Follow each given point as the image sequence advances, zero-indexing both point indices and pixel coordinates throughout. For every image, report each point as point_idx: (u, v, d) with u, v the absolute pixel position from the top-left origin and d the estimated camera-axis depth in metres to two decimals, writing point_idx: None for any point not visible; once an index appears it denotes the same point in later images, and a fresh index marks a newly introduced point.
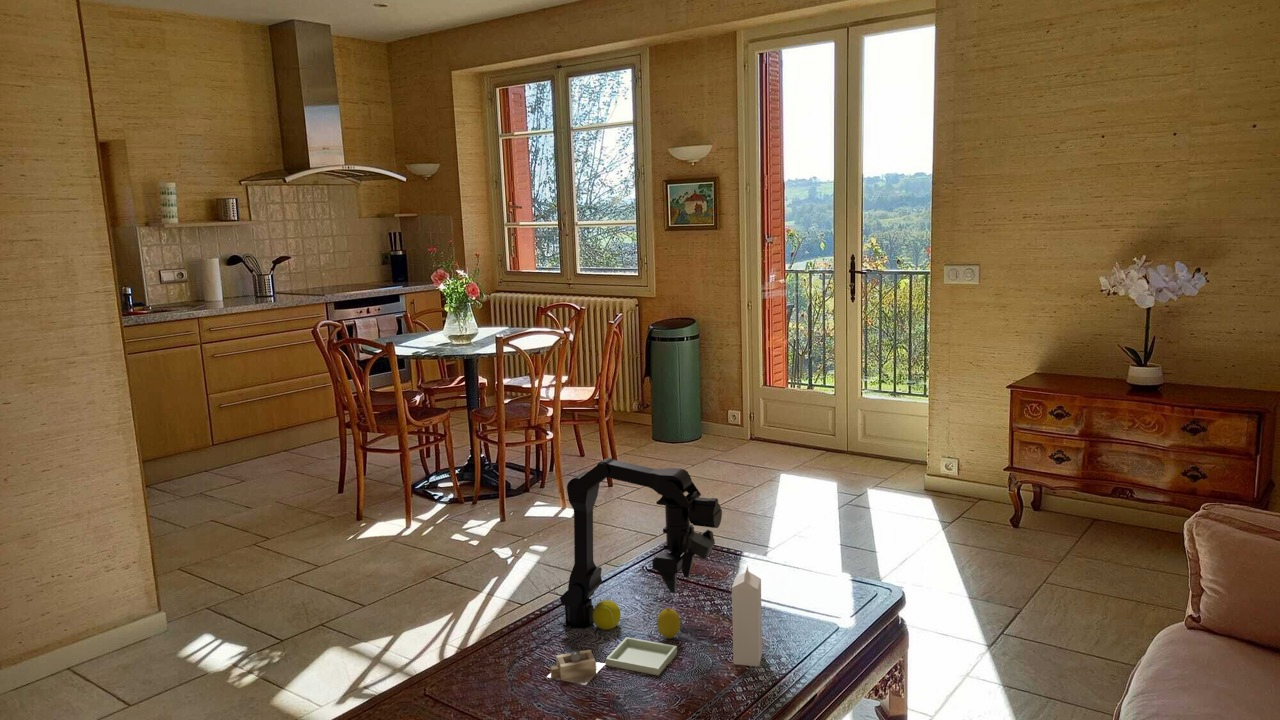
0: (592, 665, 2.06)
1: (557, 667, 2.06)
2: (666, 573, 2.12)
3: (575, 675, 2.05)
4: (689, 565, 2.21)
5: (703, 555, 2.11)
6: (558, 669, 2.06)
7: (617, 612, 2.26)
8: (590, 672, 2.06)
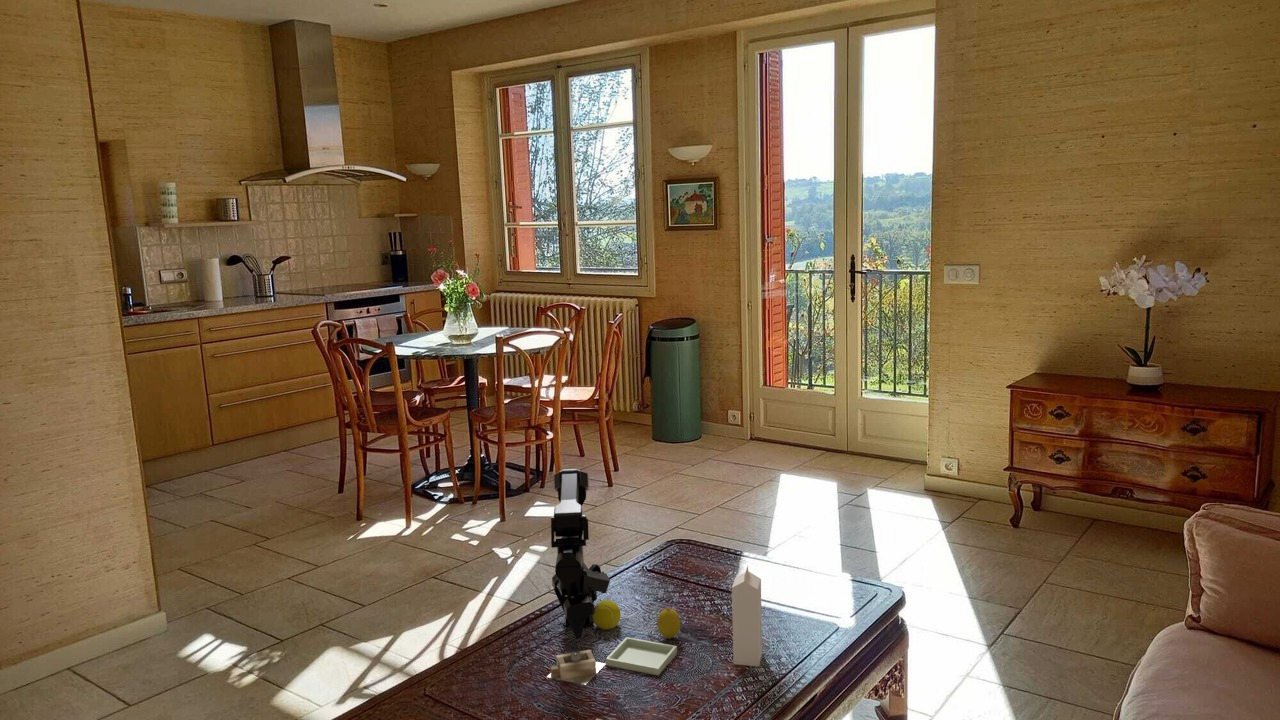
0: (592, 665, 2.06)
1: (557, 667, 2.06)
2: (574, 619, 2.00)
3: (575, 675, 2.05)
4: None
5: (605, 589, 2.04)
6: (558, 669, 2.06)
7: (617, 612, 2.26)
8: (590, 672, 2.06)
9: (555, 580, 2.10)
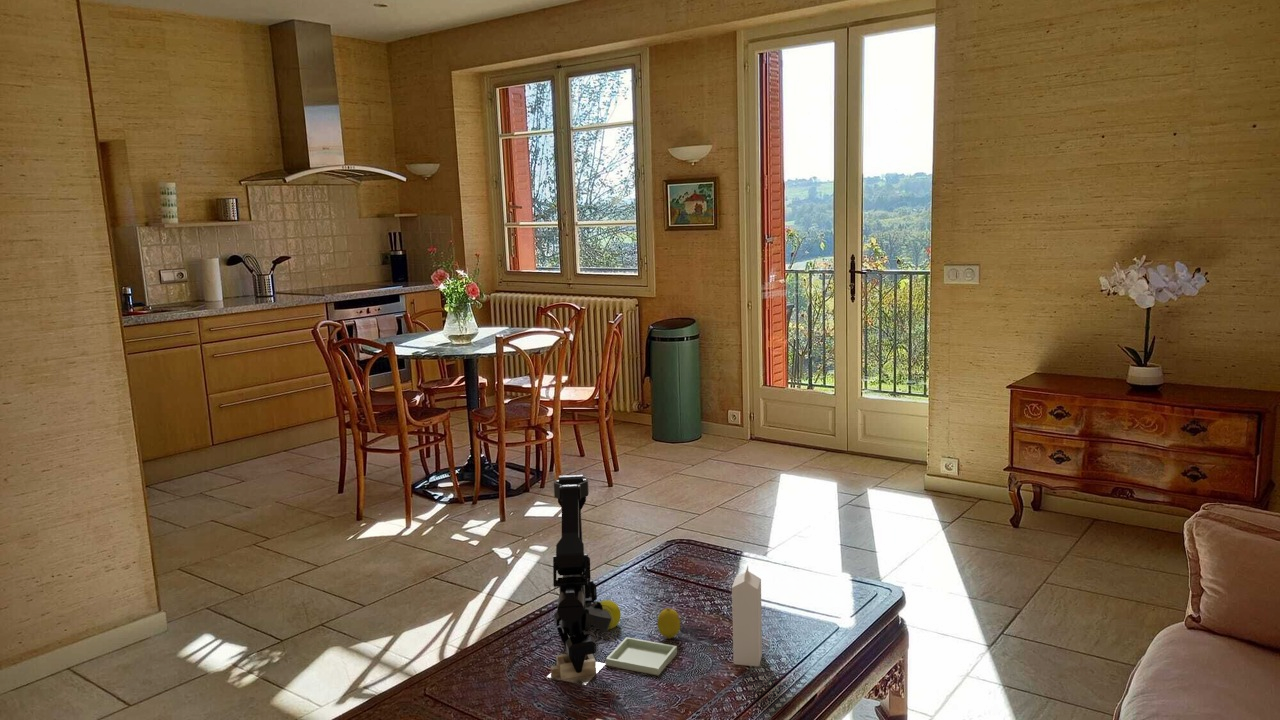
0: (592, 665, 2.06)
1: (557, 667, 2.06)
2: None
3: (575, 675, 2.05)
4: None
5: (606, 627, 2.06)
6: (558, 669, 2.06)
7: (617, 612, 2.26)
8: (590, 672, 2.06)
9: (557, 617, 2.11)
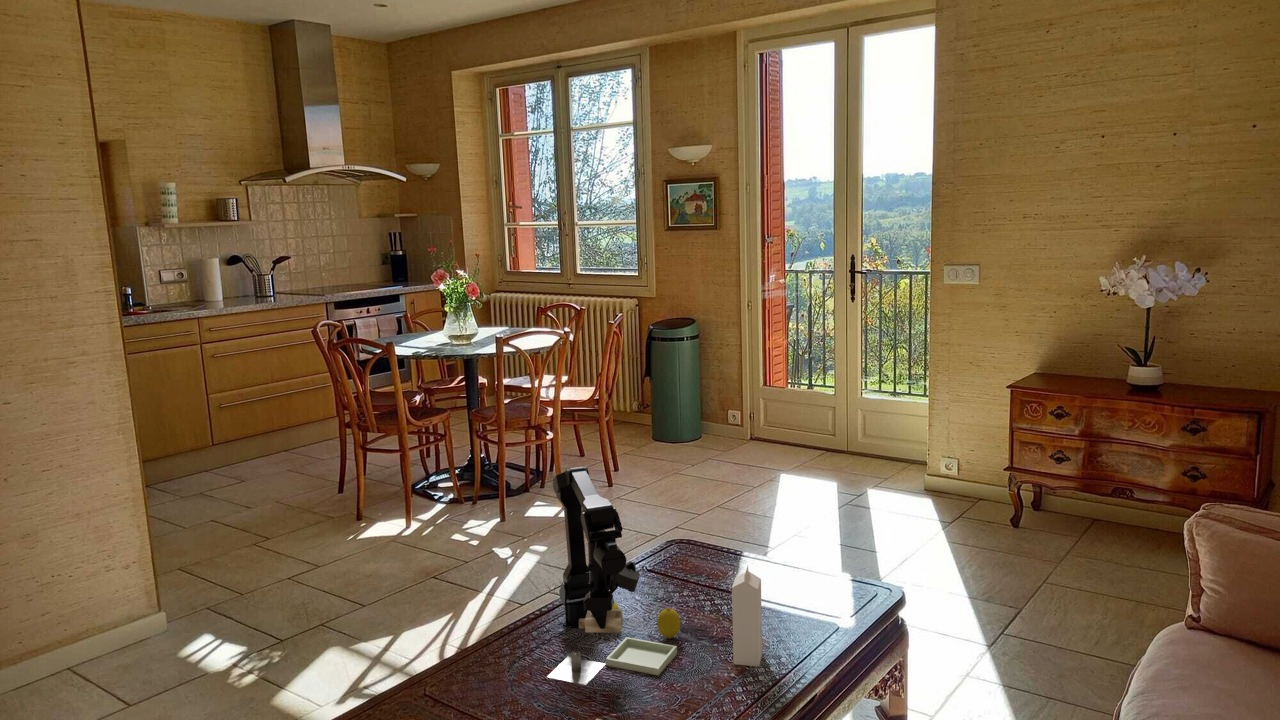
0: (616, 623, 2.05)
1: (585, 620, 2.08)
2: None
3: (599, 631, 2.05)
4: None
5: (632, 588, 2.03)
6: (585, 622, 2.07)
7: None
8: (614, 630, 2.05)
9: None
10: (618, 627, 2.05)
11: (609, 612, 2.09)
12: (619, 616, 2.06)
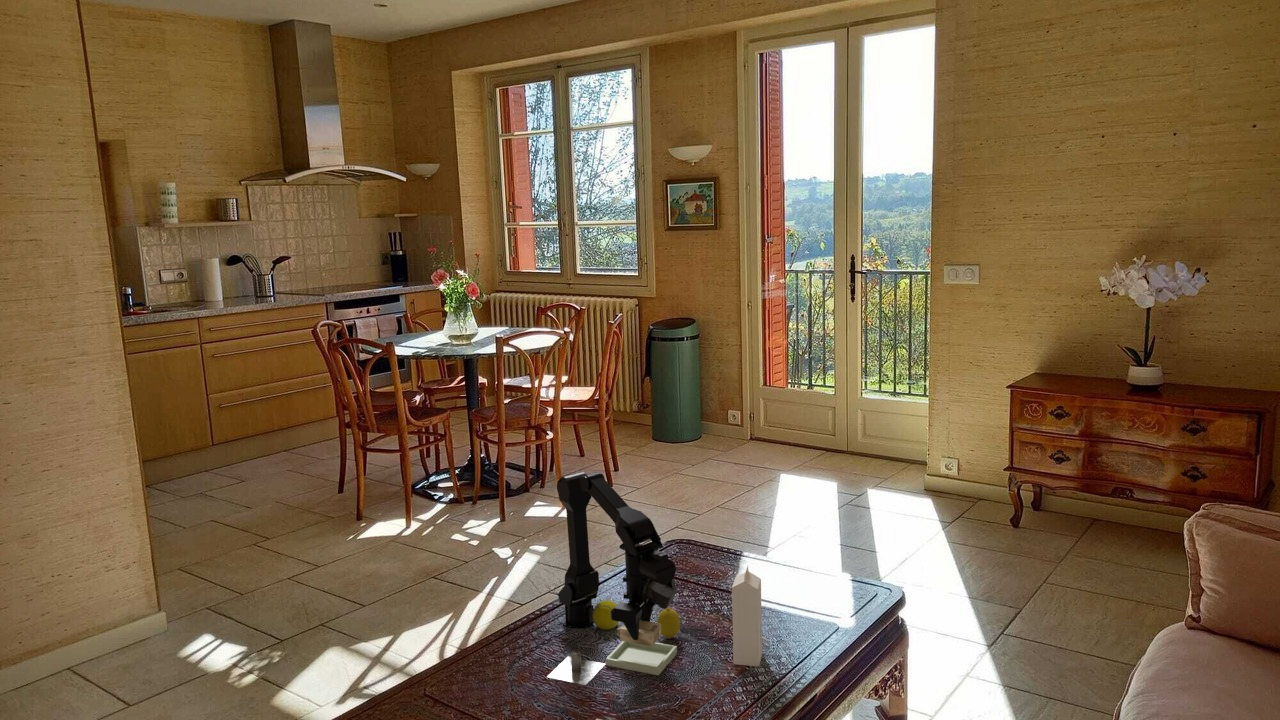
0: (648, 637, 2.07)
1: None
2: None
3: (632, 641, 2.09)
4: (648, 616, 2.13)
5: (663, 605, 2.04)
6: None
7: None
8: (646, 643, 2.07)
9: None
10: (650, 641, 2.07)
11: (647, 624, 2.12)
12: (653, 630, 2.08)
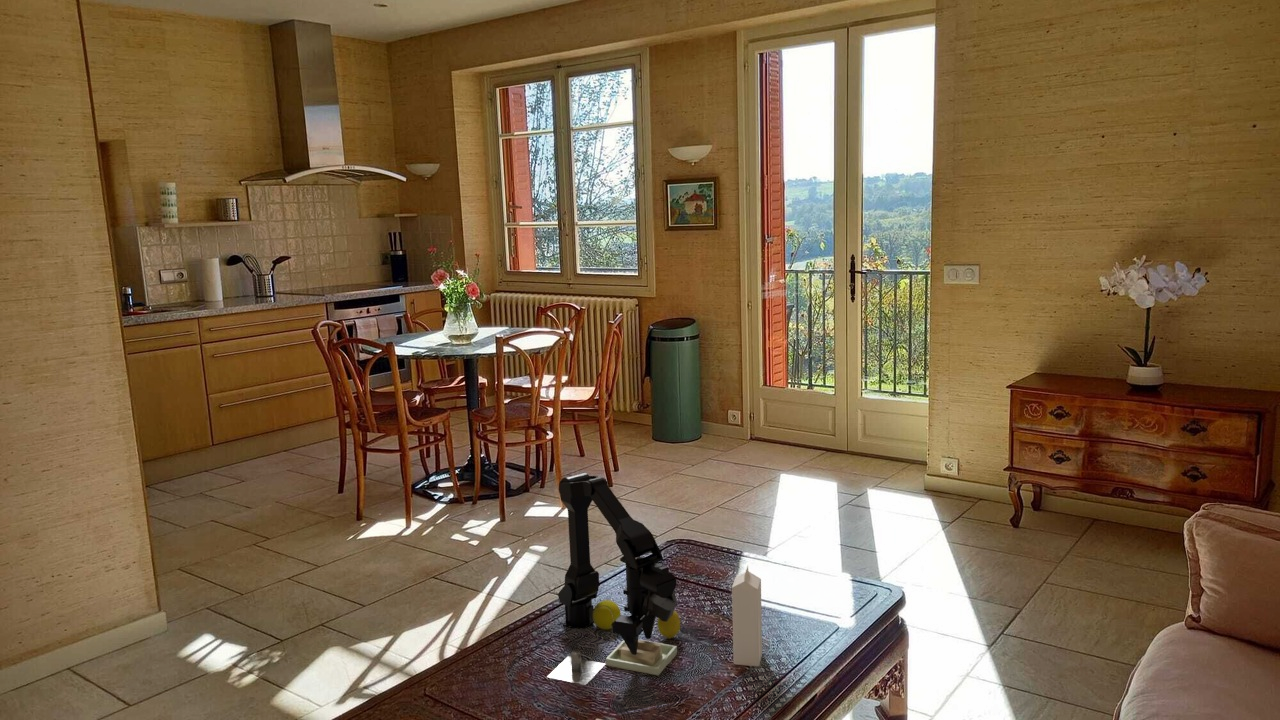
0: (649, 658, 2.08)
1: None
2: (627, 635, 2.06)
3: (633, 662, 2.10)
4: (650, 627, 2.14)
5: (664, 618, 2.05)
6: None
7: (617, 612, 2.26)
8: (647, 664, 2.08)
9: None
10: (650, 661, 2.08)
11: (648, 645, 2.12)
12: (654, 651, 2.09)
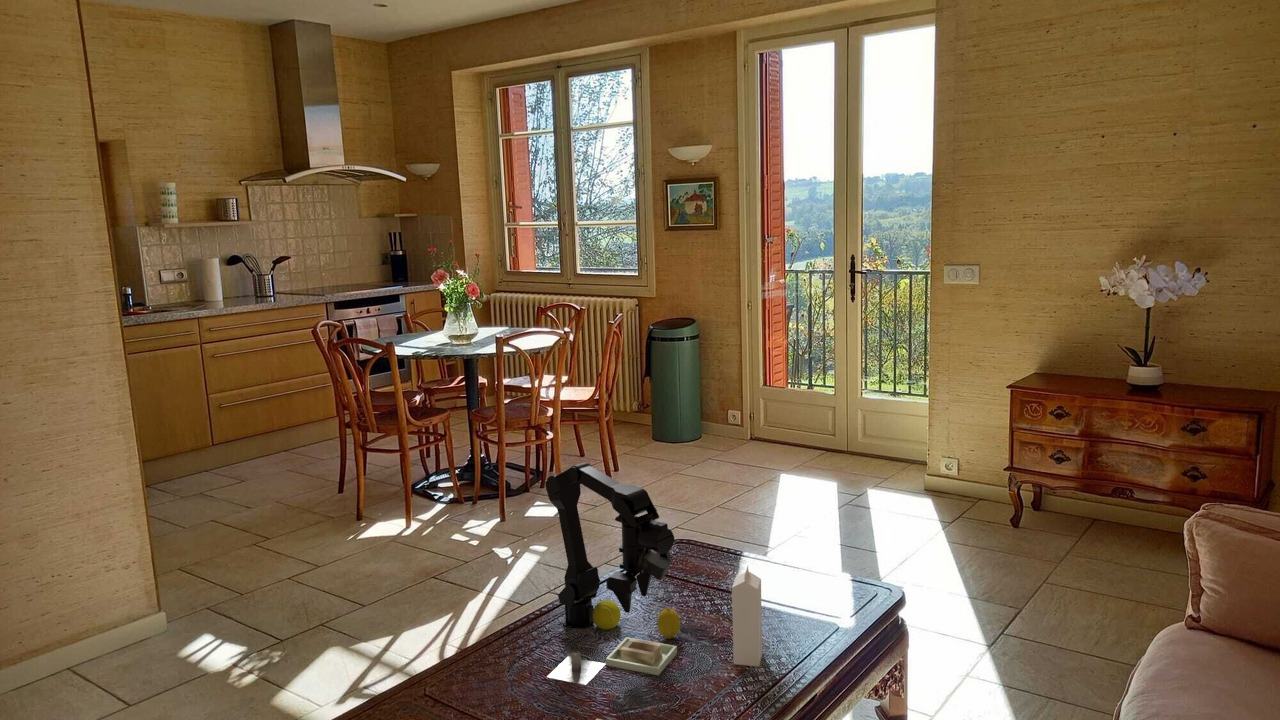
0: (649, 658, 2.08)
1: None
2: (621, 593, 2.10)
3: (633, 662, 2.10)
4: (646, 584, 2.19)
5: (658, 575, 2.09)
6: None
7: (617, 612, 2.26)
8: (647, 664, 2.08)
9: None
10: (650, 661, 2.08)
11: (648, 645, 2.12)
12: (654, 651, 2.09)
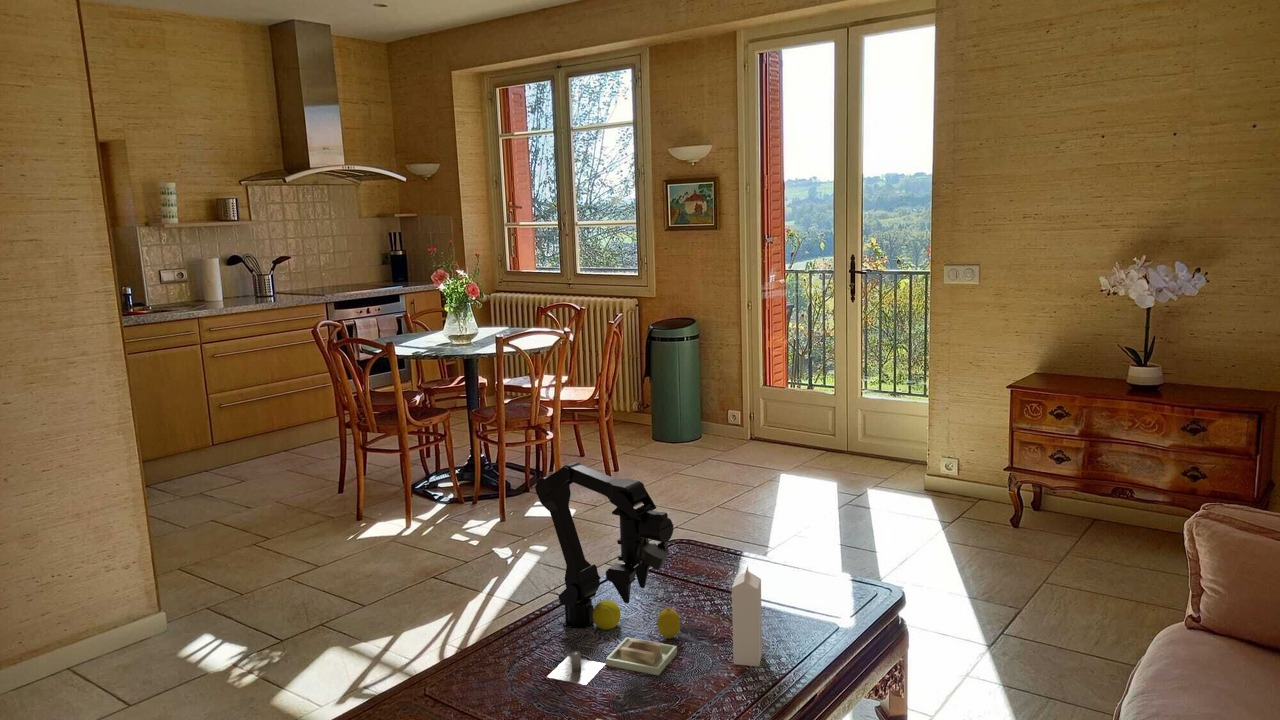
0: (649, 658, 2.08)
1: None
2: (620, 584, 2.13)
3: (633, 662, 2.10)
4: (645, 576, 2.22)
5: (656, 566, 2.12)
6: None
7: (617, 612, 2.26)
8: (647, 664, 2.08)
9: None
10: (650, 661, 2.08)
11: (648, 645, 2.12)
12: (654, 651, 2.09)
